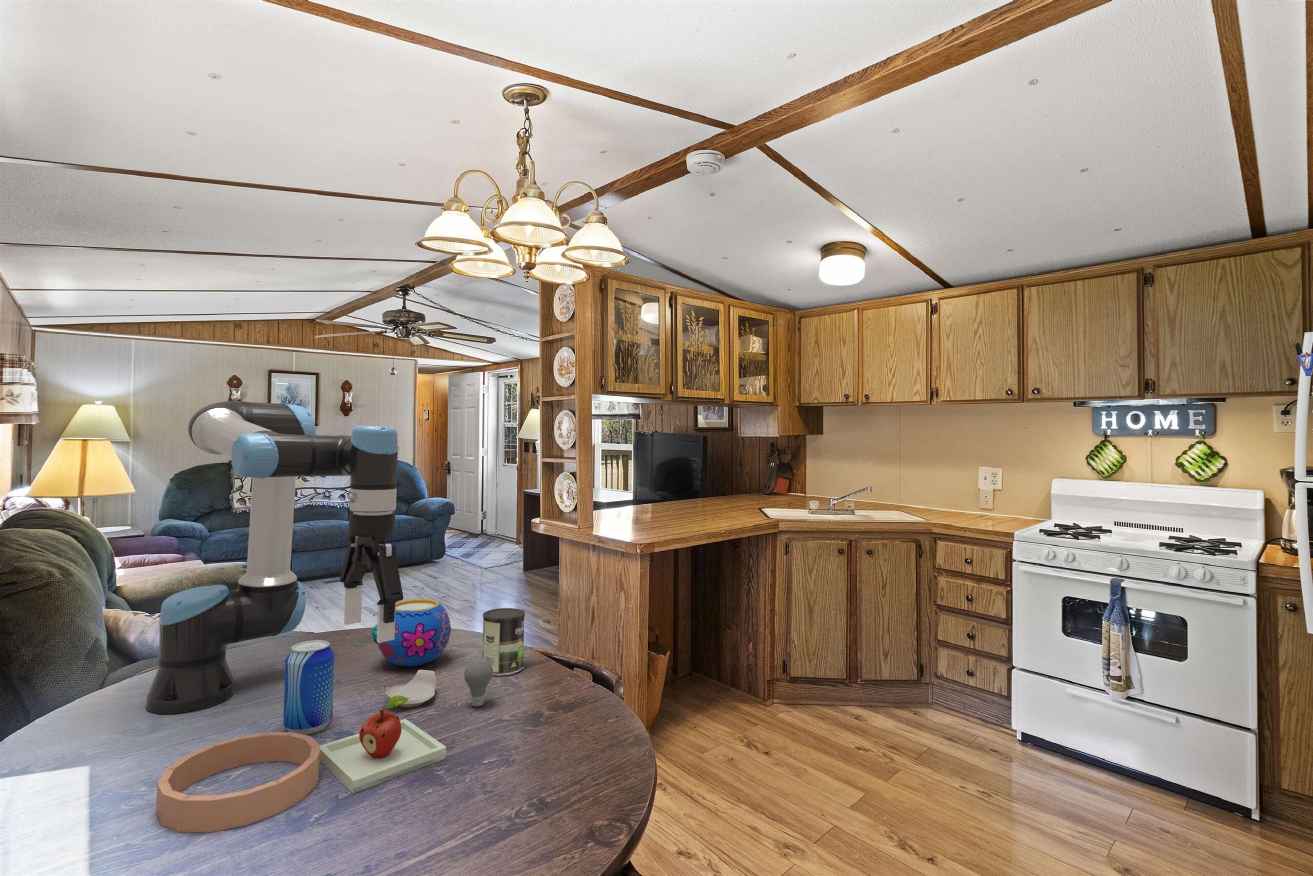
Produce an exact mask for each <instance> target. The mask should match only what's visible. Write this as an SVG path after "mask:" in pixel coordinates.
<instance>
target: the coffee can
mask: <svg viewBox="0 0 1313 876" xmlns="http://www.w3.org/2000/svg"><path fill="white" fill-rule="evenodd" d="M525 615H526V612H525V610H523V609H519V608H515V607H513V608H512V607H502V608H492V609H489V610H486V611H484V612H482V655H481V656H482V657H481V658H483V659H486V660H487V661H489V662H490V664H491V665H492V668H493V674H505V673H511V672H514V671H517V670H519V669H521V668H522V667H523V668H524V648H525V647H524V643H525V640H524V639H525Z"/></svg>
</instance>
